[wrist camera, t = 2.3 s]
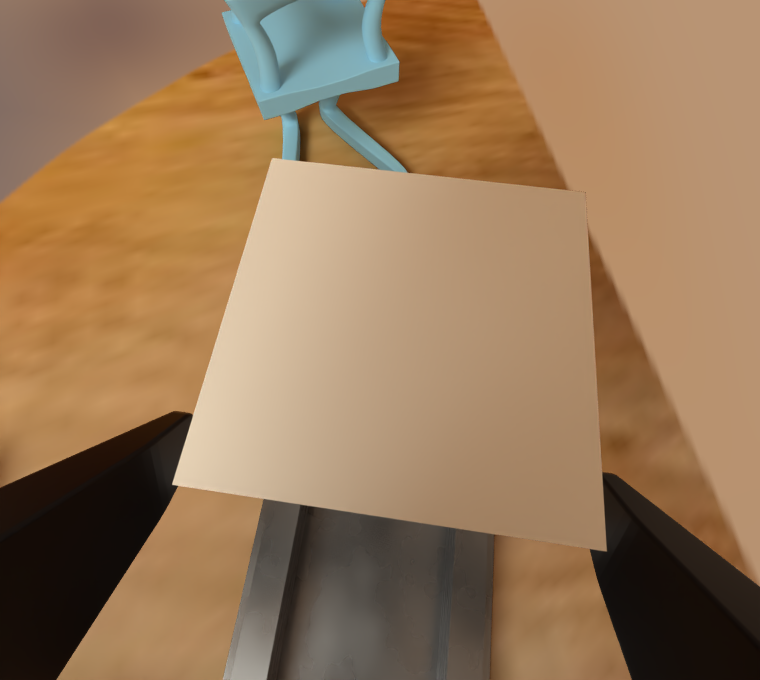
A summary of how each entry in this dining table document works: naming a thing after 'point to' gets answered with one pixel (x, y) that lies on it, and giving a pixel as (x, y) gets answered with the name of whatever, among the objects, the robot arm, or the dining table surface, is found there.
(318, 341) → the slider
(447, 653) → the grey tray
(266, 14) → the chair
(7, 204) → the dining table surface
